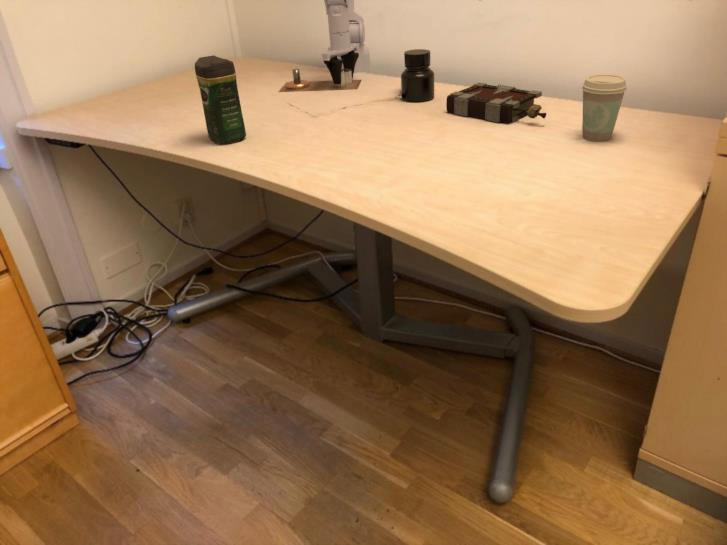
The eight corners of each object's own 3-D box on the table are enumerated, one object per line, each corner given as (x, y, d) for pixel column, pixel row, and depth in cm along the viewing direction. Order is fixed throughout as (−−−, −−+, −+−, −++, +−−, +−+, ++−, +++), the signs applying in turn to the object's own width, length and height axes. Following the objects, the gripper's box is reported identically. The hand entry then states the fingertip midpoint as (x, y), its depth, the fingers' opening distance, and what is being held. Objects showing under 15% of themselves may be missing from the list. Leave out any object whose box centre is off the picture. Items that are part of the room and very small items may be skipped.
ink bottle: (437, 93, 161) (437, 47, 155) (434, 102, 154) (434, 54, 147) (402, 94, 163) (400, 48, 157) (398, 103, 155) (396, 56, 149)
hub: (303, 82, 175) (301, 65, 173) (313, 86, 170) (311, 69, 168) (282, 86, 173) (280, 69, 170) (291, 90, 168) (289, 73, 165)
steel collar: (347, 81, 173) (346, 67, 171) (355, 84, 169) (354, 70, 167) (332, 84, 171) (330, 70, 169) (340, 87, 167) (338, 73, 165)
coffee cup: (566, 135, 126) (573, 78, 120) (598, 127, 129) (606, 71, 122) (595, 146, 119) (603, 86, 113) (627, 138, 122) (638, 79, 116)
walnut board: (362, 84, 175) (361, 79, 174) (357, 94, 165) (357, 89, 165) (287, 87, 178) (286, 82, 177) (278, 97, 168) (277, 92, 167)
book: (478, 100, 154) (479, 80, 151) (567, 115, 139) (570, 93, 136) (445, 114, 145) (445, 94, 143) (535, 132, 130) (538, 109, 127)
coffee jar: (251, 139, 137) (238, 56, 128) (220, 147, 134) (203, 63, 124) (234, 130, 144) (220, 51, 135) (204, 137, 141) (187, 57, 131)
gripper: (343, 26, 169) (347, 74, 176) (311, 35, 159) (316, 86, 167) (363, 27, 165) (366, 76, 173) (331, 36, 156) (336, 88, 163)
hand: (343, 81), depth 169 cm, fingers closed on steel collar, 5 cm apart
